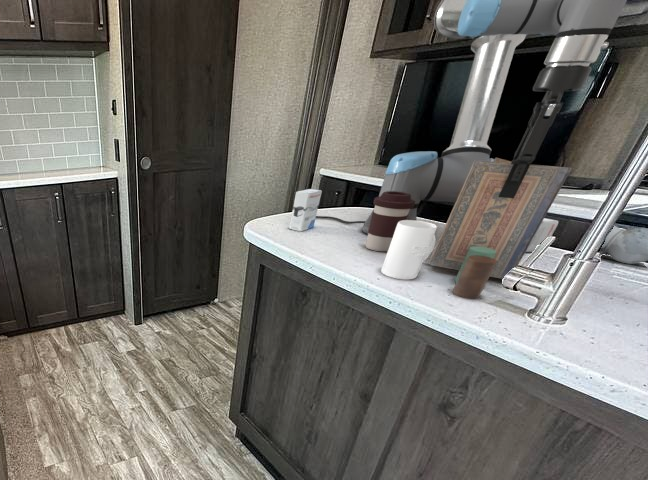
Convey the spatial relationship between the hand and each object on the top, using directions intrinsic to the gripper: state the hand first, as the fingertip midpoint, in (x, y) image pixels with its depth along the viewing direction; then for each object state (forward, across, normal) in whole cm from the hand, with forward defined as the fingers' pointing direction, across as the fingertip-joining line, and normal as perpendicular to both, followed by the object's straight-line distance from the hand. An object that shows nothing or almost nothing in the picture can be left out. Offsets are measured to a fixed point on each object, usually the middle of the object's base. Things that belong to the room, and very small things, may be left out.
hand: (505, 194), depth 89 cm
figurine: (+14, +38, -27) cm, 48 cm away
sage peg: (+18, -9, 0) cm, 20 cm away
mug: (+18, -10, +13) cm, 25 cm away
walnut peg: (+18, -17, 0) cm, 25 cm away
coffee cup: (+18, +8, +22) cm, 30 cm away
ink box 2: (+14, +26, -7) cm, 30 cm away
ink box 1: (+18, +18, +48) cm, 55 cm away
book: (+18, -2, 0) cm, 18 cm away
